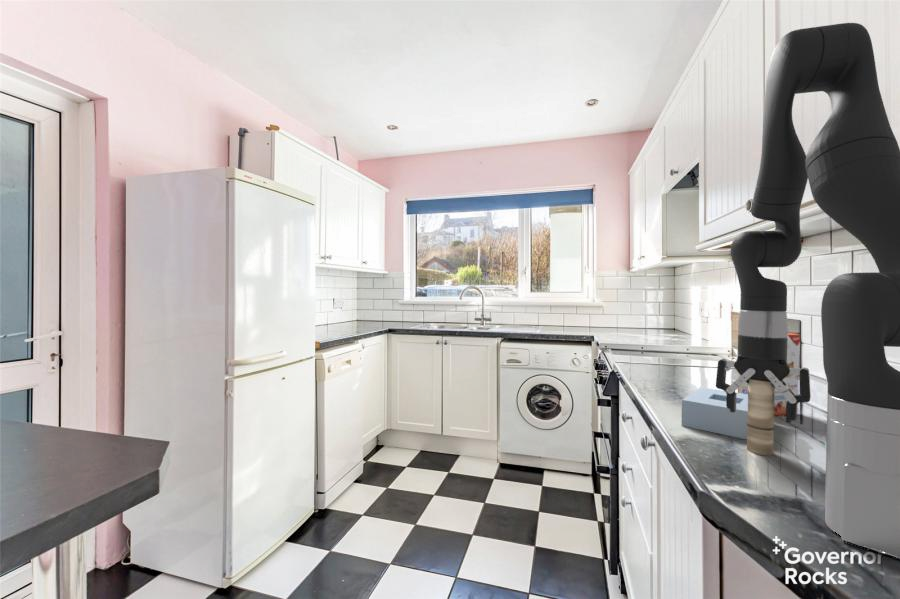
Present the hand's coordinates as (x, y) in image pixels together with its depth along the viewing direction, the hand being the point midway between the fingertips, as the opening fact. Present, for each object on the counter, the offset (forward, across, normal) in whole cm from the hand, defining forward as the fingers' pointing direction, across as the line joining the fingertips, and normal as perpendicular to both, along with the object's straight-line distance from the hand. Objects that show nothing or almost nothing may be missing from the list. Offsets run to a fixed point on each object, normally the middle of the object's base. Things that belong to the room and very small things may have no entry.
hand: (759, 416), depth 76 cm
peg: (+7, 0, 0) cm, 7 cm away
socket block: (+7, -8, +15) cm, 18 cm away
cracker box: (+7, -2, +34) cm, 35 cm away
